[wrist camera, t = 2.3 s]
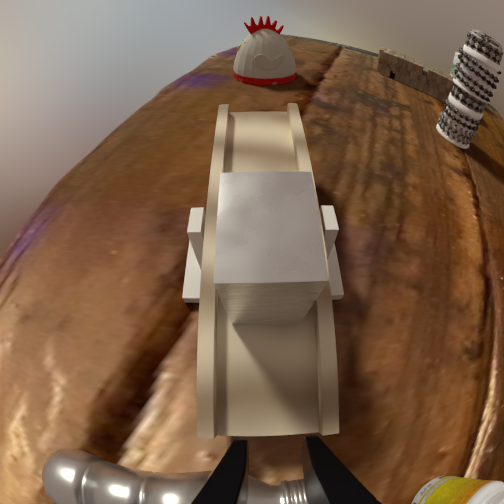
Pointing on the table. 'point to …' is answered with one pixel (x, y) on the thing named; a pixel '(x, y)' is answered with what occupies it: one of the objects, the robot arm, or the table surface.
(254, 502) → the silver metal bottle
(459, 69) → the white patterned cylinder
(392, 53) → the block tower
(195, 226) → the beam stand
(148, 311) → the table surface
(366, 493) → the robot arm
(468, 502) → the supplement bottle
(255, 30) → the kitchen timer
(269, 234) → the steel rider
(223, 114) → the balance beam
